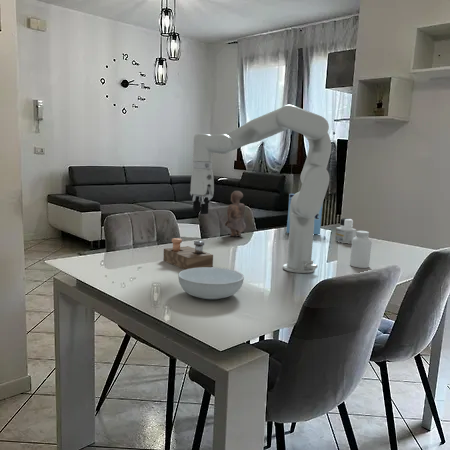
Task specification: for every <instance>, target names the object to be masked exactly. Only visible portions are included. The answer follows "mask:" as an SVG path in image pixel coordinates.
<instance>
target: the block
mask: <svg viewBox="0 0 450 450" xmlns="http://www.w3.org/2000/svg"><path fill="white" fill-rule="evenodd" d="M162 259H163V262H166V263H168V264H169V265H170V264H171V265H174V266H175V267H178V268H180V269H182V270H186V269H191V268H200V267H213V266H214V254H212V253H209V252H206V251H203V254H199V255H197V254H195V247H192V246H189V245H187V246H180V251H179V252H173V247H167V248H163V258H162Z"/></svg>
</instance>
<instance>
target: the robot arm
mask: <svg viewBox="0 0 450 450" xmlns="http://www.w3.org/2000/svg"><path fill="white" fill-rule="evenodd" d="M286 130H291V131H293V132H296V133H298V134H301V135H303V136H304V137H305V138H306V140H307V142H308V151H307V154H306V155H307V156H306V159H305V162H304V164H303V168H302V171H301V173H300V176H299V177H300V182H301V186H300V190H299V191H298V192H296V193H293V194H294V196H293V197H292V199H291V203H290V230H289V233H288V244H287V245H288V246H287V259H286V263H284V264H283V265H282V269H283V270H285V271H287V272H290V273H297V274H310V273H313V272H315V271H316V269H317V268H318V264H314V260H313V259H312V255H313V254H312V253H313V242H314V235H313V232H314V216H316V215H317V214H318V212H319V211H320V209H321V206H322V207H323V205H322V203H323V202H324V199H325V197H326V194H327V191H328V188H329V184H330V173H329V171H328V170H327V168H328V164H329V161H330V157H331V153H332V140H331V138H330V137H331V136H330V135H329V133H328V132H329V130H330V124H329V122H328V120H327V119H326V118H325V117H324V116H322V115H319V114H316V113H314V112H312V111H309V110H306V109H303V108H301V107H299V106H295V105H292V104H286V105H282V107H279V108H277V109H275V110H272V111H271V112H267V113H266V114H263V115H261V116H258V117H256V118H253V119H251V120H249V121H248V122H246V123H245V124H243V125H241V126H239V127H237V128H235V129H232V130H230V131H228V132H226V133H221V134H209V133H208V134H207V133H196V134H194V136H193V145H192V147H193V151H192V152H193V153H192V170H191V178H190V191H189V195H190V196H191V198H192V203H193V204H192V213H200V214H201V215H207V214H209V205H210V204H211V203H210V202H211V200H212V199H213V197H214V192H215V181H214V180H215V179H214V173H213V172H214V171H213V154H219V155H220V154H221V155H227V154H229V153H230V152H233V151H235V150H237V149H240V148H242V147H245V146H247V145H249V144H254V143H257V142H261V141H263V140H265V139H267V138H270V137H272V136H275V135H277V134H279V133H282V132H284V131H286ZM323 204H324V203H323Z"/></svg>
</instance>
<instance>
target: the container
mask: <svg viewBox="0 0 450 450" xmlns="http://www.w3.org/2000/svg"><path fill="white" fill-rule="evenodd" d="M353 226H354V220H353V219H352V218H346V217H344V218H341V219H340V225H339V227H337V226H336V227H335V229H336V230H335V237H334V239H335V240H334V241H335V242H337V241H339V242H338V243H340V242H342V243H341V244H343V243H348V244H352V240H353V238H354V237H357V236H356V231H357V229H356V228H353Z"/></svg>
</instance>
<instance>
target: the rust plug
mask: <svg viewBox="0 0 450 450" xmlns="http://www.w3.org/2000/svg"><path fill="white" fill-rule="evenodd" d="M182 241H183V239H182V238H178V237H177V238H175V237H174V238H171V243H172V248H173V252H179V251H180V247H181V243H182Z"/></svg>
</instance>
